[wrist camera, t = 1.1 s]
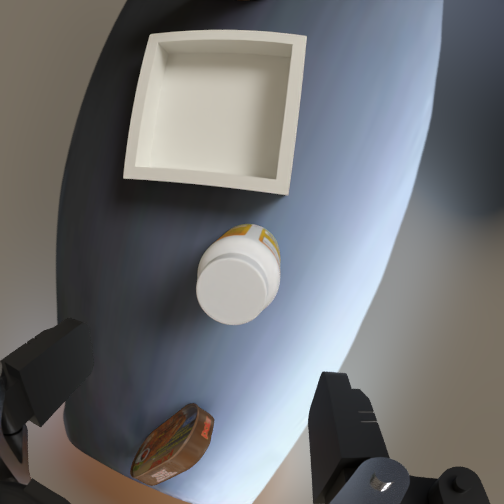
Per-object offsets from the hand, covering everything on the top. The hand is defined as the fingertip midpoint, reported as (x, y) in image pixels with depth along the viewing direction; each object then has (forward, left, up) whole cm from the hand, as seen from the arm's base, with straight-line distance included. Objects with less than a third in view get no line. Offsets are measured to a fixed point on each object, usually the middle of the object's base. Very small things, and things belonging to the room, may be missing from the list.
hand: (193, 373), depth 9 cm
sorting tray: (-12, -4, -17) cm, 21 cm away
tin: (+23, -6, -18) cm, 29 cm away
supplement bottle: (0, 0, -17) cm, 17 cm away
